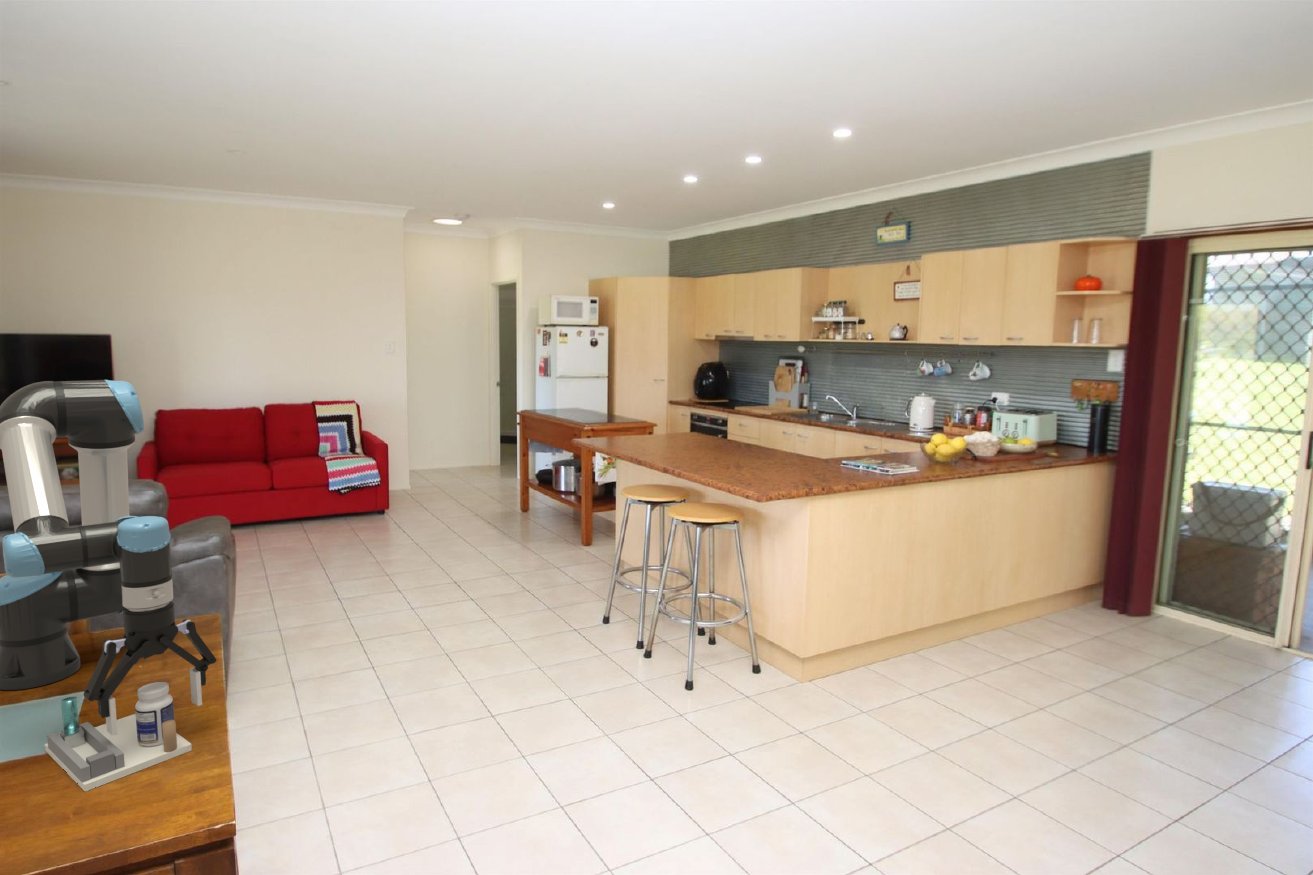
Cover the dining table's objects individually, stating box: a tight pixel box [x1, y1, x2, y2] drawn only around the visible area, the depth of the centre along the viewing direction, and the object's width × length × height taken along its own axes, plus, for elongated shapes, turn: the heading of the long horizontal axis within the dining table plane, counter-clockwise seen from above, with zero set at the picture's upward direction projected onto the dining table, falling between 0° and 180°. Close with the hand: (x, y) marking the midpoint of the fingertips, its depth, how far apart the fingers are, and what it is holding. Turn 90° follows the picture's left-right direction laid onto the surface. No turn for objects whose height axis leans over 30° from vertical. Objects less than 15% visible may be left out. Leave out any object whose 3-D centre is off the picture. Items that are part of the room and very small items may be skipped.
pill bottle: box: [134, 681, 175, 746], centre depth 136 cm, size 6×6×10 cm
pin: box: [58, 696, 85, 748], centre depth 134 cm, size 3×3×8 cm
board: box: [44, 713, 193, 792], centre depth 134 cm, size 20×16×6 cm
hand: (156, 717), depth 136 cm, fingers open, 13 cm apart
